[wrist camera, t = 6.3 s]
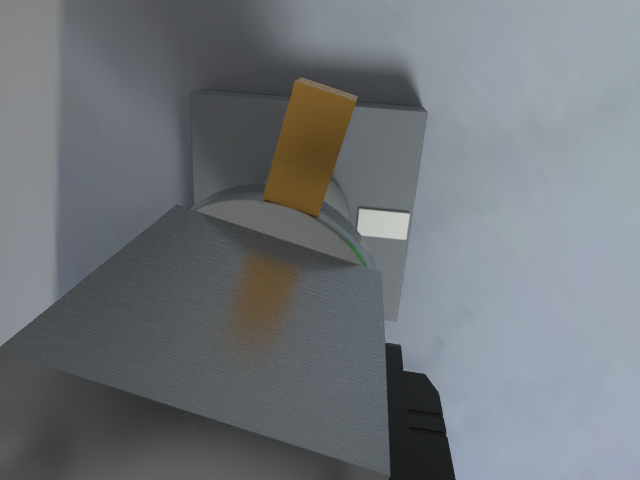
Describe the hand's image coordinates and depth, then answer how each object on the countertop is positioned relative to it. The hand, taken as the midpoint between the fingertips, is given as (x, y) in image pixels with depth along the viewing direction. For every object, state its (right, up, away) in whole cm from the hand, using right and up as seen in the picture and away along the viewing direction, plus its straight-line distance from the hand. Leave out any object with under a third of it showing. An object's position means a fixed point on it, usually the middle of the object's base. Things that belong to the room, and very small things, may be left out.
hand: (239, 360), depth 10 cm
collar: (+1, +2, +2) cm, 3 cm away
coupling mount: (+1, +4, +9) cm, 10 cm away
